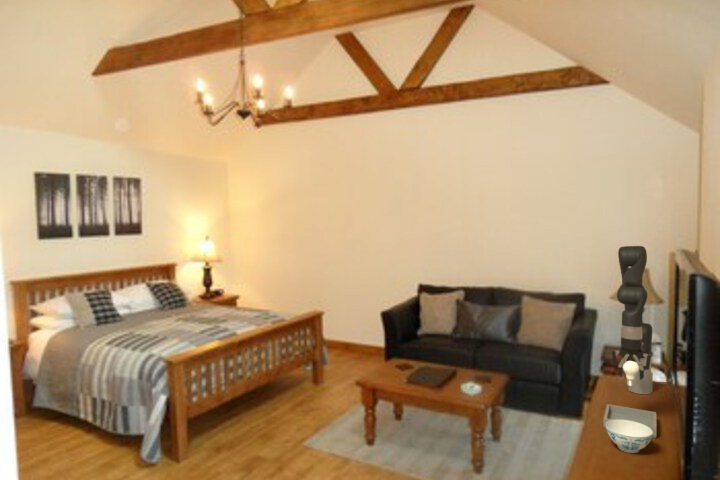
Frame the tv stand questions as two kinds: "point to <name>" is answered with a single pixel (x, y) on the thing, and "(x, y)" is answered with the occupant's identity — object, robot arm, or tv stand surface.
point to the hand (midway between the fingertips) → (630, 377)
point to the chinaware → (629, 435)
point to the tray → (630, 416)
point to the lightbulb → (630, 371)
